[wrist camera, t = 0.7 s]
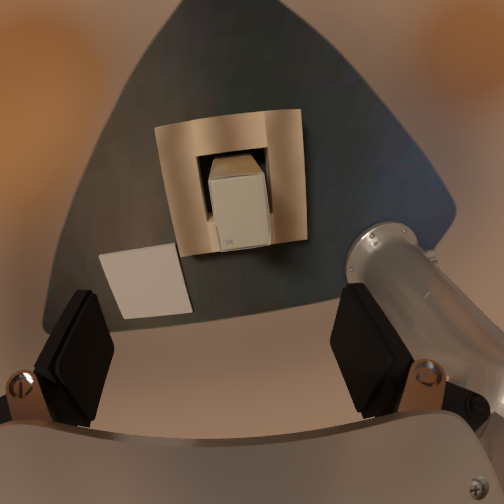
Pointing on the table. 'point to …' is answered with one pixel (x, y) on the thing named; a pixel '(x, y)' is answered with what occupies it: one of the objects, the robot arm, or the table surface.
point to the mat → (147, 281)
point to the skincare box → (239, 202)
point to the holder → (225, 140)
